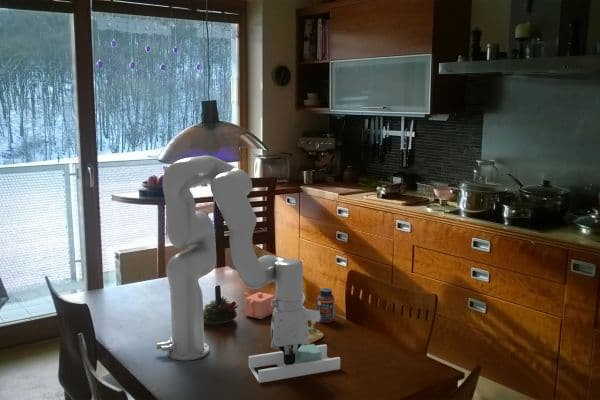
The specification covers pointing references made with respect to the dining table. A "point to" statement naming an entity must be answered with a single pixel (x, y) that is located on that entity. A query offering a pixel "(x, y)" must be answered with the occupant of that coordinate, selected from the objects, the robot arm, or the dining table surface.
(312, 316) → the figurine with sign
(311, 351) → the green block
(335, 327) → the dining table surface
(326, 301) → the supplement bottle
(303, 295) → the ring
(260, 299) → the pink cube
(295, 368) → the trough
